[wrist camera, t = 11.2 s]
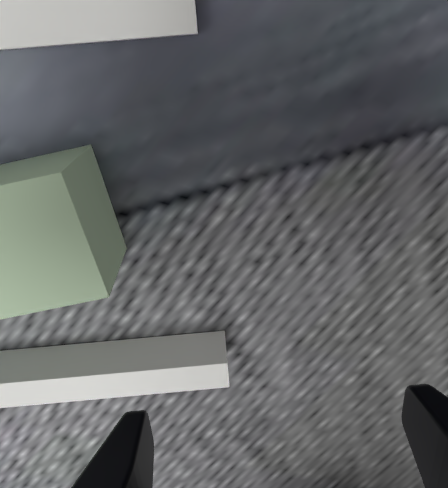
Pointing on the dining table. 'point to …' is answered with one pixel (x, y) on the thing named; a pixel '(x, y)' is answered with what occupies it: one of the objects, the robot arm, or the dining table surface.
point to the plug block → (56, 233)
